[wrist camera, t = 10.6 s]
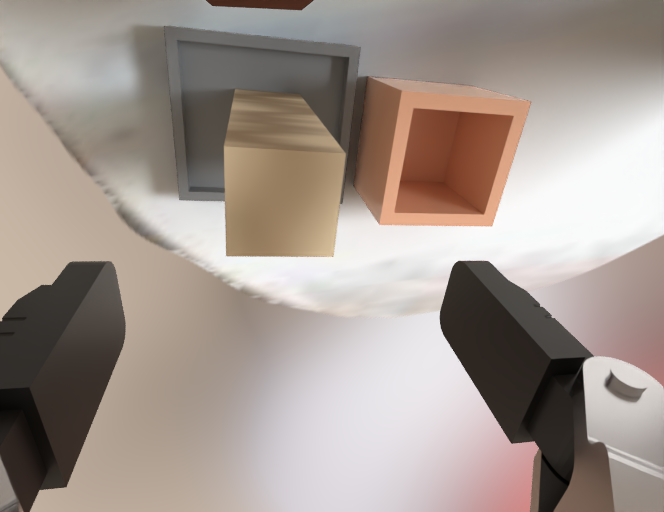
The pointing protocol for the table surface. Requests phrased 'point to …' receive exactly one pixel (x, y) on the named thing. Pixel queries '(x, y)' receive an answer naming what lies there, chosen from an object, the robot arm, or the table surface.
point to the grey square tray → (251, 74)
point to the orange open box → (435, 151)
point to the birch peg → (280, 178)
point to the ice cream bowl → (263, 3)
